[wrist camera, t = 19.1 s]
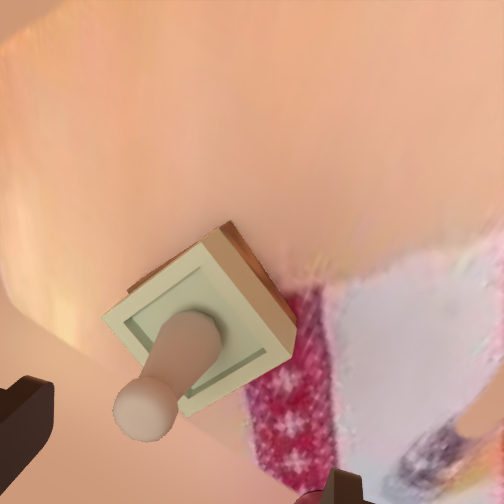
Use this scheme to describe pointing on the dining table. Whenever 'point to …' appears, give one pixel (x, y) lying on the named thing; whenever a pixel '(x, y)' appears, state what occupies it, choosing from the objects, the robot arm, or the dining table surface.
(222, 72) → the dining table surface
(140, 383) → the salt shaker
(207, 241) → the top block
